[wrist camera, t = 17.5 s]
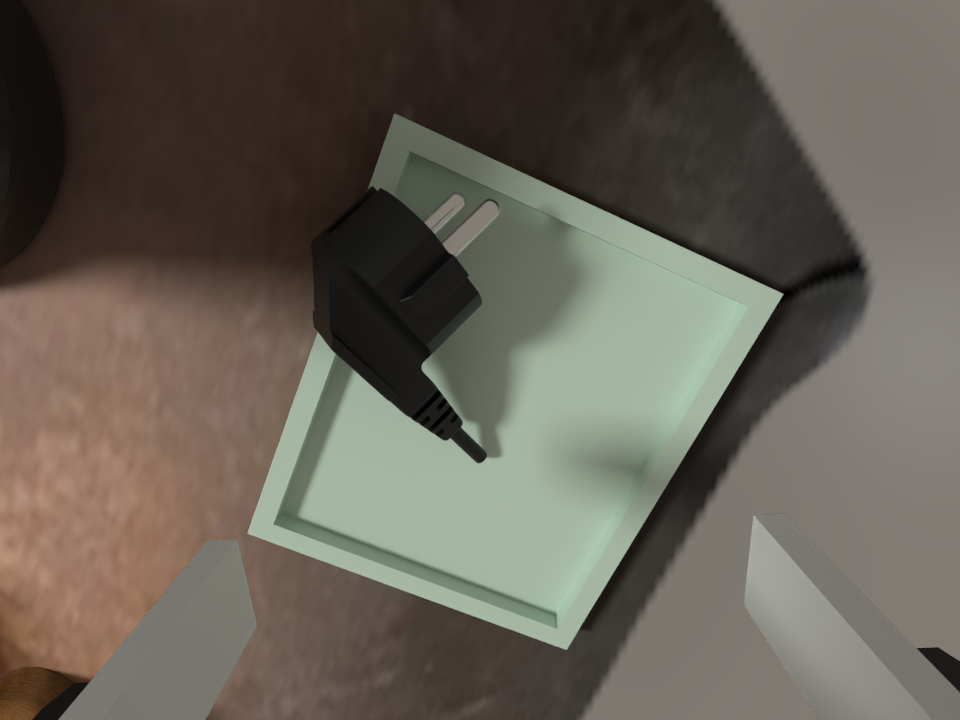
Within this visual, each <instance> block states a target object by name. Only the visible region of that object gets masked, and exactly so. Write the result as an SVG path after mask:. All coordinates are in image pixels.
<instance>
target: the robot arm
mask: <svg viewBox="0 0 960 720" xmlns="http://www.w3.org/2000/svg"><path fill="white" fill-rule="evenodd" d="M62 146H63V138H62V121H61V112H60V106H59V100H58V95H57V90H56V86H55V82H54V78H53V75H52V72H51V68H50V65H49V62H48V60H47V57H46V54H45V51H44V49H43V46H42V44H41V42H40V40H39V37H38V35H37V33H36V31H35V29H34V27H33V25H32V23H31V21H30V19H29V17H28V15H27V13H26V12H25V10H24V8H23V7H22V5H21V3H20V1H19V0H0V266H1V265H3V264H4V263H6V262H7V261H8V260H10V259H11V258H12V257H14V256H15V255H16V254H17V253H18V252H19V251H21V250H22V249H23V248H24V247H25V245H26V244H27V243H28V242H29V241H30V240H31V239H32V237H33V236H34V235H35V233H36V232H37V231H38V229H39V227H40V226H41V224H42V223H43V221H44V219H45V217H46V215H47V213H48V211H49V209H50V206H51V204H52V201H53V198H54V196H55V192H56V189H57V185H58V181H59V175H60V170H61V162H62ZM744 606H745V608H746V609H747V611H748V612H749V613H750V615H751V617H752V618H753V620H754V621H755V623H756V624H757V626H758V627H759V629H760V630H761V632H762V634H763V635H764V637H765V638H766V640H767V641H768V643H769V644H770V646H771V648H772V649H773V651H774V652H775V654H776V655H777V657H778V658H779V660H780V661H781V663H782V664H783V666H784V667H785V669H786V671H787V672H788V674H789V675H790V677H791V678H792V680H793V681H794V683H795V684H796V686H797V688H798V689H799V691H800V692H801V694H802V695H803V697H804V698H805V700H806V701H807V703H808V704H809V706H810V708H811V709H812V711H813V712H814V713H815V715H816V717H817V718H818V720H960V661H958V660H957V659H955V658H954V657H952V656H950V655H949V654H947V653H946V652H944V651H943V650H941V649H940V648H916V647H915V646H914V645H913V644H912V643H911V642H910V641H909V640H908V639H907V638H906V637H905V636H904V635H903V634H902V633H901V632H900V631H899V630H898V629H897V628H896V627H895V626H894V625H893V624H892V623H891V622H890V621H889V620H888V619H887V618H886V617H885V616H884V615H883V614H882V613H881V612H880V611H879V610H878V609H877V607H876V606H875V605H874V604H873V603H872V602H871V601H870V600H869V599H868V598H867V597H866V596H865V595H864V594H863V593H862V592H861V591H860V590H859V589H858V588H857V587H856V586H855V585H854V584H853V583H852V582H851V581H850V580H849V579H848V578H847V577H846V576H845V575H844V574H843V573H842V572H841V571H840V570H839V569H838V568H837V567H836V566H835V565H834V564H833V562H832V561H831V560H830V559H829V558H828V557H827V556H826V555H825V554H824V553H823V552H822V551H821V550H820V549H819V548H818V547H817V546H816V545H815V544H814V543H813V542H812V541H811V540H810V539H809V538H808V537H807V536H806V535H805V534H804V533H803V532H802V531H801V530H800V529H799V528H798V527H797V526H796V525H795V524H794V523H793V522H792V521H791V520H790V519H789V517H788V516H787V515H785V514H763V515H753V525H752V534H751V543H750V552H749V562H748V571H747V581H746V590H745V599H744ZM256 627H257V623H256V618H255V614H254V610H253V606H252V601H251V597H250V593H249V589H248V584H247V580H246V576H245V572H244V567H243V563H242V559H241V555H240V550H239V546H238V542H237V539H234V540H213V541H207V542H206V543H205V545H204V546H203V547H202V548H201V549H200V551H199V552H198V553H197V554H196V555H195V557H194V558H193V559H192V560H191V561H190V563H189V564H188V565H187V566H186V567H185V569H184V570H183V571H182V572H181V573H180V575H179V576H178V577H177V578H176V579H175V581H174V582H173V583H172V584H171V585H170V587H169V588H168V589H167V590H166V591H165V592H164V594H163V595H162V596H161V597H160V598H159V600H158V601H157V602H156V603H155V604H154V606H153V607H152V608H151V609H150V610H149V612H148V613H147V614H146V615H145V616H144V618H143V619H142V620H141V621H140V622H139V624H138V625H137V626H136V627H135V628H134V630H133V631H132V632H131V633H130V634H129V636H128V637H127V638H126V639H125V640H124V642H123V643H122V644H121V645H120V646H119V648H118V649H117V650H116V651H115V652H114V654H113V655H112V656H111V657H110V658H109V660H108V661H107V662H106V663H105V664H104V666H103V667H102V668H101V669H100V670H99V672H98V673H97V674H96V675H95V676H94V678H93V679H92V680H91V681H90V682H89V683H74V684H73V685H71V686H70V687H69V688H67V689H66V690H65V691H64V692H62V693H61V694H60V695H59V696H57V697H56V698H55V699H53V700H52V701H51V702H50V703H48V704H47V705H46V706H45V707H43V708H42V709H41V710H40V711H39V713H38V714H37V715H36V716H35V717H34V718H33V719H32V720H206V718H207V716H208V715H209V713H210V711H211V709H212V707H213V705H214V704H215V702H216V700H217V698H218V696H219V694H220V693H221V691H222V689H223V687H224V685H225V683H226V682H227V680H228V678H229V676H230V674H231V673H232V671H233V669H234V667H235V665H236V663H237V662H238V660H239V658H240V656H241V654H242V652H243V651H244V649H245V647H246V645H247V643H248V641H249V640H250V638H251V636H252V634H253V632H254V630H255V629H256Z"/></svg>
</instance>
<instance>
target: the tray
mask: <svg viewBox="0 0 960 720" xmlns="http://www.w3.org/2000/svg"><path fill="white" fill-rule="evenodd" d="M372 186H374V187H375V189H376V190H377V191H378V190H379V189H380V188H382V189H384V190H386V191H387V192H389V193H390V194H392V195H393V196H394V197H396V198H397V199H398V200H400V201H401V202H402V203H403V204H404V205H406V206H407V207H408V208H409V209H410V210H411V211H412V212H414V213H415V214H416V215H417V216H418V217H419V218H420V219H421V220H424V219H425V218H426V217H427V216H428V215H429V214H430V213H431V212H432V211H433V210H434V209H435V208H436V207H437V206H438V205H439V204H440V203H441V202H443V201H444V200H445V199H446V198H447V197H448V196H449V195H450V194H452V193H453V192H459V193H461V194H463V195H464V197H465V198H466V207H465V208H464V210H463V211H462V212H461V213H460V214H458V215H457V216H456V217H455V218H454V219H453V220H452V221H451V222H450V223H449V224H448V225H447V226H446V227H445V228H444V229H443V230H442V231H441V232H440V233H439V234H438V235H436V236H437V238H438V239H439V240H440V241H441V240H443V239H444V238H445V237H446V236H447V235H448V234H449V233H450V232H451V231H452V230H453V229H454V228H455V227H456V226H457V225H458V224H459V223H460V222H461V221H462V220H463V219H464V218H465V217H467V216H468V215H469V214H470V213H471V212H472V211H473V210H474V209H475V208H476V207H477V206H478V205H479V204H480V203H481V202H482V201H484V200H485V199H490V198H491V199H494V200H495V201H497V202H498V204H499V205H500V209H501V211H500V215H499V216H498V218H497V219H496V220H495V221H494V222H493V223H492V224H491V225H490V226H489V227H488V228H486V229H485V230H484V231H483V232H482V233H481V234H480V235H479V236H478V237H477V238H476V239H475V240H474V241H473V242H472V243H471V244H470V245H469V246H468V247H467V248H466V249H465V250H464V251H463V252H462V253H461V254H460V255H459V256H458V257H457V260H458V261H459V262H460V264H461V265H462V266H463V268H464V269H465V270H466V272H467V273H468V274H469V276H468V279H469V280H470V281H471V283H472V284H473V285H474V287H475V288H476V289H477V291H478V292H479V294H480V296H481V299H482V305H481V306H480V307H479V308H478V309H477V310H476V311H475V312H474V313H473V314H472V315H471V316H470V317H469V318H468V319H467V320H466V321H465V322H464V323H463V324H462V325H461V326H460V327H459V328H458V329H457V330H456V331H455V332H454V333H453V334H452V335H451V336H450V337H449V338H448V339H447V340H446V341H445V342H444V343H443V344H442V345H441V346H440V347H439V348H438V349H437V350H436V351H435V352H434V353H433V354H432V355H431V356H430V357H429V358H428V359H426V360H425V361H424V362H423V364H422V371H423V372H424V373H425V374H426V375H427V376H428V377H429V378H430V380H431V381H432V382H433V383H434V384H435V385H436V386H437V388H438V390H439V391H440V392H441V393H442V394H443V396H444V398H445V399H446V400H447V401H448V402H449V404H450V405H451V406H452V408H453V409H454V410H455V412H456V413H457V414H458V415H459V417H460V418H461V419H462V421H463V424H462V426H461V428H462V429H463V430H464V431H465V432H466V433H467V434H468V435H469V436H470V437H471V438H472V439H473V440H474V441H475V442H476V443H478V444H479V445H480V446H481V447H482V448H483V449H484V450H485V451H486V453H487V457H486V459H485V461H483V462H482V463H476V462H475V461H474V460H473V459H472V458H471V457H470V456H469V455H468V454H467V453H465V452H464V451H463V450H462V449H461V448H460V447H459V446H458V445H457V444H456V443H455V442H454V441H453V440H452V439H451V438H450V439H449V440H447V441H444V440H442V439H440V438H439V437H437V436H436V435H435V434H433V433H431V432H430V431H429V430H428V429H426V428H424V427H422V426H421V425H420V424H419V423H417V422H415V421H414V420H412V419H411V418H410V417H408V416H406V415H405V414H403V413H402V412H401V411H400V410H399V409H398V408H397V407H396V406H395V405H393V404H392V403H391V402H390V401H388V400H387V399H386V398H384V397H383V396H382V395H381V394H380V393H379V392H378V391H377V390H375V389H374V388H373V387H372V386H371V385H370V384H369V383H368V382H367V381H365V380H364V379H363V378H362V377H361V376H360V375H359V374H358V373H357V372H355V371H354V370H353V369H352V368H351V367H350V366H349V365H348V364H347V363H345V362H344V361H343V360H342V359H341V358H340V357H339V356H338V355H336V354H335V353H334V352H333V351H332V350H331V349H330V347H329V346H328V345H327V343H326V342H325V341H324V339H323V338H322V337H321V335H320V334H319V333H317V336H316V339H315V342H314V344H313V347H312V350H311V353H310V356H309V359H308V362H307V364H306V367H305V370H304V373H303V376H302V379H301V382H300V384H299V387H298V390H297V393H296V396H295V399H294V402H293V404H292V407H291V410H290V413H289V416H288V419H287V422H286V424H285V427H284V430H283V433H282V436H281V439H280V442H279V444H278V447H277V450H276V453H275V456H274V459H273V462H272V464H271V467H270V470H269V473H268V476H267V479H266V482H265V484H264V487H263V490H262V493H261V496H260V499H259V502H258V504H257V507H256V510H255V513H254V516H253V519H252V522H251V524H250V527H249V530H248V533H247V534H250V535H253V536H255V537H258V538H261V539H263V540H266V541H269V542H272V543H274V544H277V545H280V546H283V547H285V548H288V549H291V550H294V551H296V552H299V553H302V554H305V555H307V556H310V557H313V558H316V559H318V560H321V561H324V562H327V563H329V564H332V565H335V566H338V567H340V568H343V569H346V570H349V571H351V572H354V573H357V574H360V575H362V576H365V577H368V578H371V579H373V580H376V581H379V582H381V583H384V584H387V585H390V586H392V587H395V588H398V589H401V590H403V591H406V592H409V593H412V594H414V595H417V596H420V597H423V598H425V599H428V600H431V601H434V602H436V603H439V604H442V605H445V606H447V607H450V608H453V609H456V610H458V611H461V612H464V613H467V614H469V615H472V616H475V617H478V618H480V619H483V620H486V621H488V622H491V623H494V624H497V625H499V626H502V627H505V628H508V629H510V630H513V631H516V632H519V633H521V634H524V635H527V636H530V637H532V638H535V639H538V640H541V641H543V642H546V643H549V644H552V645H554V646H557V647H560V648H563V649H565V650H567V648H568V647H569V645H570V643H571V642H572V640H573V638H574V637H575V635H576V633H577V632H578V630H579V629H580V627H581V625H582V624H583V622H584V620H585V619H586V617H587V615H588V614H589V612H590V610H591V609H592V607H593V606H594V604H595V602H596V601H597V599H598V597H599V596H600V594H601V592H602V591H603V589H604V588H605V586H606V584H607V583H608V581H609V579H610V578H611V576H612V574H613V573H614V571H615V570H616V568H617V566H618V565H619V563H620V561H621V560H622V558H623V556H624V555H625V553H626V552H627V550H628V548H629V547H630V545H631V543H632V542H633V540H634V538H635V537H636V535H637V533H638V532H639V530H640V529H641V527H642V525H643V524H644V522H645V520H646V519H647V517H648V515H649V514H650V512H651V511H652V509H653V507H654V506H655V504H656V502H657V501H658V499H659V497H660V496H661V494H662V493H663V491H664V489H665V488H666V486H667V484H668V483H669V481H670V479H671V478H672V476H673V474H674V473H675V471H676V470H677V468H678V466H679V465H680V463H681V461H682V460H683V458H684V456H685V455H686V453H687V452H688V450H689V448H690V447H691V445H692V443H693V442H694V440H695V438H696V437H697V435H698V434H699V432H700V430H701V429H702V427H703V425H704V424H705V422H706V420H707V419H708V417H709V416H710V414H711V412H712V411H713V409H714V407H715V406H716V404H717V402H718V401H719V399H720V397H721V396H722V394H723V393H724V391H725V389H726V388H727V386H728V384H729V383H730V381H731V379H732V378H733V376H734V375H735V373H736V371H737V370H738V368H739V366H740V365H741V363H742V361H743V360H744V358H745V357H746V355H747V353H748V352H749V350H750V348H751V347H752V345H753V343H754V342H755V340H756V339H757V337H758V335H759V334H760V332H761V330H762V329H763V327H764V325H765V324H766V322H767V320H768V319H769V317H770V316H771V314H772V312H773V311H774V309H775V307H776V306H777V304H778V302H779V301H780V299H781V298H782V296H783V294H782V293H780V292H778V291H776V290H774V289H772V288H769V287H767V286H765V285H763V284H761V283H759V282H757V281H754V280H752V279H750V278H748V277H746V276H744V275H741V274H739V273H737V272H735V271H733V270H731V269H729V268H726V267H724V266H722V265H720V264H718V263H716V262H714V261H711V260H709V259H707V258H705V257H703V256H701V255H698V254H696V253H694V252H692V251H690V250H688V249H686V248H683V247H681V246H679V245H677V244H675V243H673V242H670V241H668V240H666V239H664V238H662V237H660V236H658V235H655V234H653V233H651V232H649V231H647V230H645V229H642V228H640V227H638V226H636V225H634V224H632V223H630V222H627V221H625V220H623V219H621V218H619V217H617V216H615V215H612V214H610V213H608V212H606V211H604V210H602V209H599V208H597V207H595V206H593V205H591V204H589V203H587V202H584V201H582V200H580V199H578V198H576V197H574V196H571V195H569V194H567V193H565V192H563V191H561V190H559V189H556V188H554V187H552V186H550V185H548V184H546V183H543V182H541V181H539V180H537V179H535V178H533V177H531V176H528V175H526V174H524V173H522V172H520V171H518V170H515V169H513V168H511V167H509V166H507V165H505V164H503V163H500V162H498V161H496V160H494V159H492V158H490V157H488V156H485V155H483V154H481V153H479V152H477V151H475V150H472V149H470V148H468V147H466V146H464V145H462V144H460V143H457V142H455V141H453V140H451V139H449V138H447V137H444V136H442V135H440V134H438V133H436V132H434V131H432V130H429V129H427V128H425V127H423V126H421V125H419V124H416V123H414V122H412V121H410V120H408V119H406V118H404V117H401V116H399V115H397V114H395V113H394V116H393V119H392V122H391V124H390V127H389V130H388V133H387V136H386V139H385V142H384V144H383V147H382V150H381V153H380V156H379V159H378V162H377V164H376V167H375V170H374V173H373V176H372V179H371V182H370V184H369V187H368V189H369V188H370V187H372Z"/></svg>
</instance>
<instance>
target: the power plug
mask: <svg viewBox="0 0 960 720" xmlns="http://www.w3.org/2000/svg"><path fill="white" fill-rule="evenodd" d="M465 207H466V198H465V197H464V195H463V194H461V193H459V192H453V193H452V194H450V195H449V196H448V197H447V198H446V199H445V200H444V201H443V202H441V203H440V204H439V205H438V206H437V207H436V208H435V209H434V210H433V211H432V212H431V213H430V214H429V215H428V216H427V217H426V218H425V219H424V220H421V219H420V218H419V217H418V216H417V215H416V214H415V213H414V212H412V211H411V210H410V209H409V208H408V207H407V206H406V205H404V204H403V203H402V202H401V201H400V200H398V199H397V198H396V197H394V196H393V195H392V194H390V193H389V192H387V191H386V190H384V189H382V188H380V189H379V190H378V191H377V190H376V189H375V187H374V186H372V187H370V188H369V189H368V190H367V191H366V192H365V193H364V194H363V195H362V196H361V197H360V198H359V199H357V200H356V201H355V202H354V203H353V204H352V205H351V206H350V207H349V208H348V209H347V210H346V211H345V212H344V213H343V214H341V215H340V216H339V217H338V218H337V219H336V220H335V221H334V222H333V223H332V224H331V225H330V226H329V227H327V228H326V229H325V230H324V231H323V232H322V233H321V234H320V235H318V236H317V237H316V238H315V239H314V240H313V242H312V244H311V249H312V257H313V277H314V307H315V311H314V310H313V322H314V327H315V329H316V330H317V331H318V333H319V334H320V335H321V337H322V338H323V339H324V341H325V342H326V343H327V345H328V346H329V347H330V349H331V350H332V351H333V352H334V353H335V354H336V355H338V356H339V357H340V358H341V359H342V360H343V361H344V362H345V363H347V364H348V365H349V366H350V367H351V368H352V369H353V370H354V371H355V372H357V373H358V374H359V375H360V376H361V377H362V378H363V379H364V380H365V381H367V382H368V383H369V384H370V385H371V386H372V387H373V388H374V389H375V390H377V391H378V392H379V393H380V394H381V395H382V396H383V397H384V398H386V399H387V400H388V401H390V402H391V403H392V404H393V405H395V406H396V407H397V408H398V409H399V410H400V411H401V412H402V413H403V414H405V415H406V416H408V417H410V418H411V419H412V420H414V421H415V422H417V423H419V424H420V425H421V426H422V427H424V428H426V429H428V430H429V431H430V432H431V433H433V434H435V435H436V436H437V437H439V438H440V439H442V440H444V441H447V440H449V439H450V438H451V439H452V440H453V441H454V442H455V443H456V444H457V445H458V446H459V447H460V448H461V449H462V450H463V451H464V452H465V453H467V454H468V455H469V456H470V457H471V458H472V459H473V460H474V461H475V462H476V463H482V462H483V461H485V459H486V457H487V453H486V451H485V450H484V449H483V448H482V447H481V446H480V445H479V444H478V443H476V442H475V441H474V440H473V439H472V438H471V437H470V436H469V435H468V434H467V433H466V432H465V431H464V430H463V429H462V428H461V426H462V424H463V421H462V419H461V418H460V417H459V415H458V414H457V413H456V412H455V410H454V409H453V408H452V406H451V405H450V404H449V402H448V401H447V400H446V399H445V398H444V396H443V394H442V393H441V392H440V391H439V390H438V388H437V386H436V385H435V384H434V383H433V382H432V381H431V380H430V378H429V377H428V376H427V375H426V374H425V373H424V372H423V371H422V364H423V362H424V361H425V360H426V359H428V358H429V357H430V356H431V355H432V354H433V353H434V352H435V351H436V350H437V349H438V348H439V347H440V346H441V345H442V344H443V343H444V342H445V341H446V340H447V339H448V338H449V337H450V336H451V335H452V334H453V333H454V332H455V331H456V330H457V329H458V328H459V327H460V326H461V325H462V324H463V323H464V322H465V321H466V320H467V319H468V318H469V317H470V316H471V315H472V314H473V313H474V312H475V311H476V310H477V309H478V308H479V307H480V306H481V305H482V299H481V296H480V294H479V292H478V291H477V289H476V288H475V287H474V285H473V284H472V283H471V281H470V280H469V279H468V276H469V274H468V273H467V272H466V270H465V269H464V268H463V266H462V265H461V264H460V262H459V261H458V260H457V257H458V256H459V255H460V254H461V253H462V252H463V251H464V250H465V249H466V248H467V247H468V246H469V245H470V244H471V243H472V242H473V241H474V240H475V239H476V238H477V237H478V236H479V235H480V234H481V233H482V232H483V231H484V230H485V229H486V228H488V227H489V226H490V225H491V224H492V223H493V222H494V221H495V220H496V219H497V218H498V216H499V215H500V211H501V209H500V205H499V204H498V202H497V201H495V200H494V199H491V198H490V199H485V200H484V201H482V202H481V203H480V204H479V205H478V206H477V207H476V208H475V209H474V210H473V211H472V212H471V213H470V214H469V215H468V216H467V217H465V218H464V219H463V220H462V221H461V222H460V223H459V224H458V225H457V226H456V227H455V228H454V229H453V230H452V231H451V232H450V233H449V234H448V235H447V236H446V237H445V238H444V239H443V240H441V241H440V240H439V239H438V238H437V236H436V235H438V234H439V233H440V232H441V231H442V230H443V229H444V228H445V227H446V226H447V225H448V224H449V223H450V222H451V221H452V220H453V219H454V218H455V217H456V216H457V215H458V214H460V213H461V212H462V211H463V210H464V208H465Z"/></svg>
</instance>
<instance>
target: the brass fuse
mask: <svg viewBox="0 0 960 720" xmlns="http://www.w3.org/2000/svg"><path fill="white" fill-rule="evenodd" d="M73 684H74V683H73V682H71V681H70V680H69V679H67V678H66V677H64V676H63V675H61V674H59V673H56V672H54V671H51V670H48V669H44V668H37V667H27V668H21V669H17V670H15V671H13V672H11V673H9V674H8V675H7V676H6V677H5V678H4V679H3V680H1V681H0V720H32V719H33V718H34V717H35V716H36V715H37V714H38V713H39V711H40V710H41V709H42V708H43V707H45V706H46V705H47V704H48V703H50V702H51V701H52V700H53V699H55V698H56V697H57V696H59V695H60V694H61V693H62V692H64V691H65V690H66V689H67V688H69V687H70V686H71V685H73Z"/></svg>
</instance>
